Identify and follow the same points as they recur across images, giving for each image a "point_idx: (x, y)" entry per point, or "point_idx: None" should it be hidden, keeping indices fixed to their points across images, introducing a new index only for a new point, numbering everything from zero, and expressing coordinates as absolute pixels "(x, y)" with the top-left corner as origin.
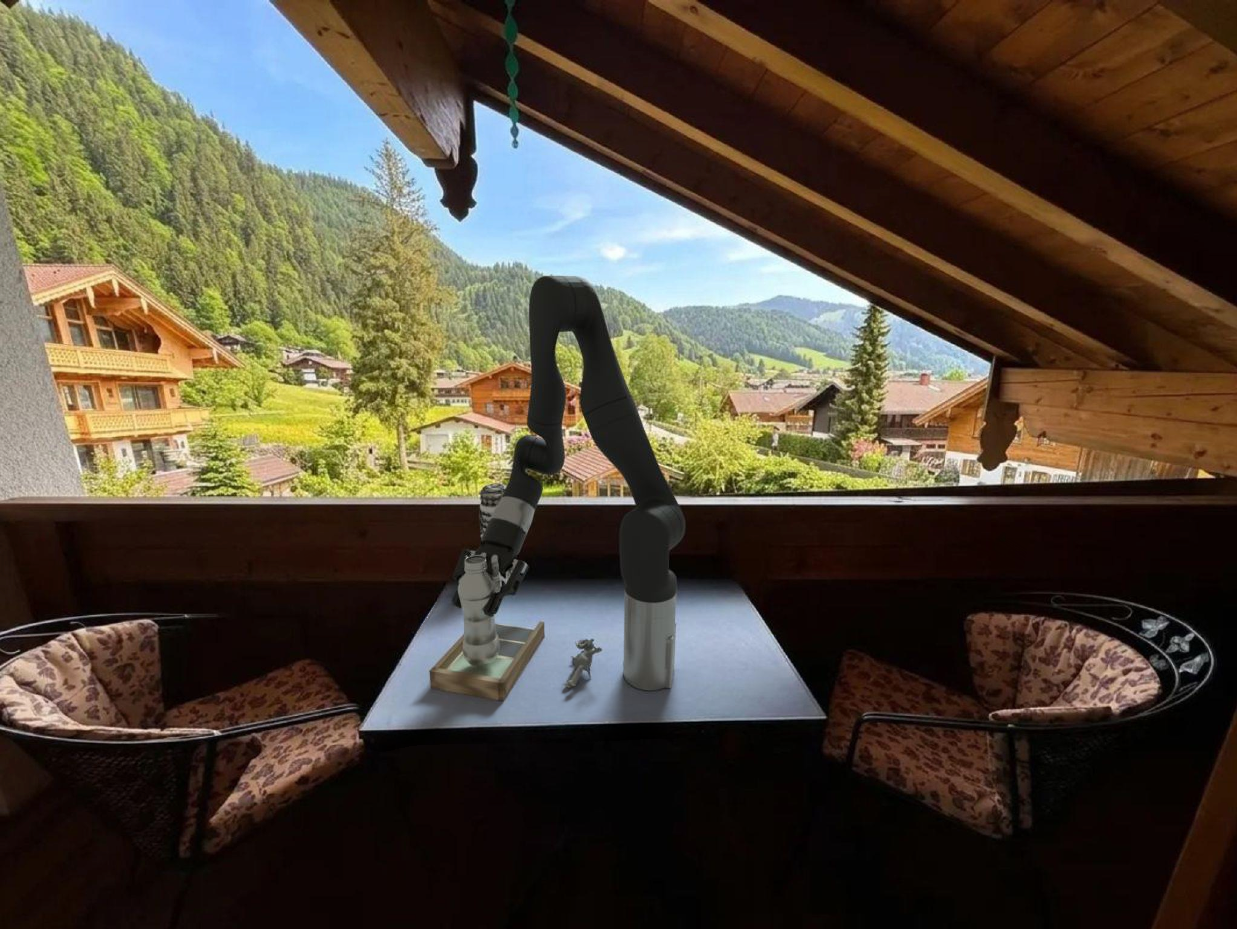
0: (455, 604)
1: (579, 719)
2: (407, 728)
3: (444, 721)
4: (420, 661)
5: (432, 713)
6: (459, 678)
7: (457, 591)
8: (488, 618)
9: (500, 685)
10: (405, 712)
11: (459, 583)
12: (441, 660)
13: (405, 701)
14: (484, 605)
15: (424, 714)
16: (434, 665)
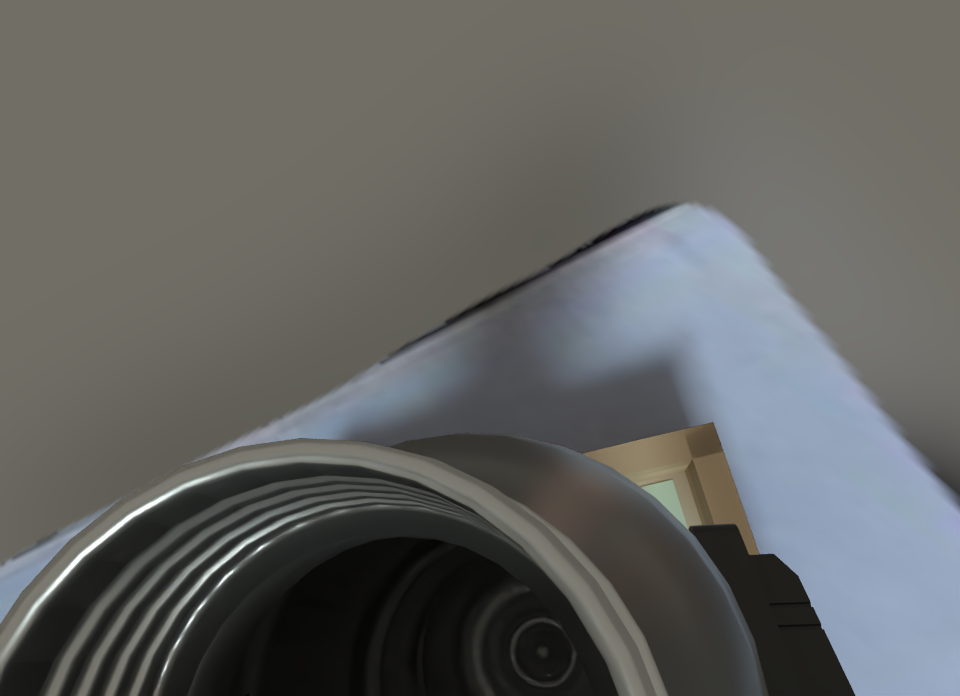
0: (692, 528)
1: (4, 587)
2: (586, 256)
3: (488, 339)
4: (942, 574)
5: (563, 345)
6: None
7: (802, 648)
8: (376, 637)
9: None
10: (665, 301)
11: (664, 525)
12: (730, 516)
13: (723, 339)
14: (326, 586)
15: (587, 328)
16: (728, 467)
